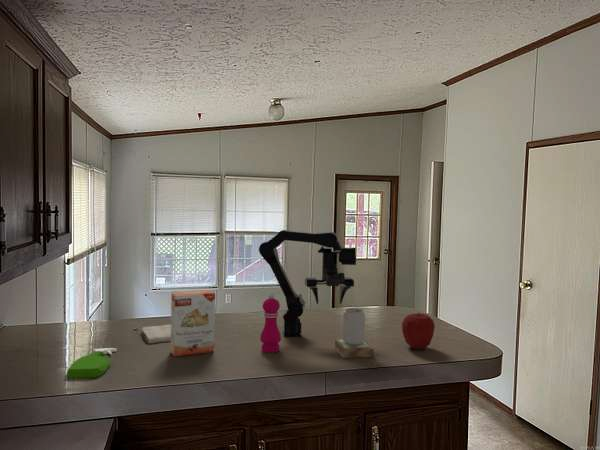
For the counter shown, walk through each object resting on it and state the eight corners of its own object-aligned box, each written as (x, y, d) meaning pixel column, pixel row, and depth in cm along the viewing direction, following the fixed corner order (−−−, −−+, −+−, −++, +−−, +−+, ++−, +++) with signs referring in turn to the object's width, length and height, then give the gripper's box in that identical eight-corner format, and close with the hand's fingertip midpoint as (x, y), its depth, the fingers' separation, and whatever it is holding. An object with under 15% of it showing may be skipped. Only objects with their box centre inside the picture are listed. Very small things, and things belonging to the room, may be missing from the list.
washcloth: (170, 329, 191) (170, 322, 191) (181, 341, 176) (181, 333, 175) (139, 333, 186) (140, 325, 186) (148, 345, 170) (148, 337, 170)
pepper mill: (283, 348, 168) (284, 293, 167) (276, 354, 161) (277, 296, 160) (265, 346, 170) (266, 291, 170) (256, 351, 164) (257, 295, 163)
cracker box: (174, 357, 156) (174, 295, 155) (170, 352, 161) (170, 292, 160) (214, 352, 162) (215, 292, 162) (209, 347, 168) (210, 289, 167)
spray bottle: (63, 380, 136) (87, 354, 160) (103, 378, 137) (121, 353, 162) (63, 370, 136) (87, 345, 160) (103, 368, 137) (121, 344, 162)
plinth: (342, 357, 159) (342, 348, 159) (334, 347, 170) (335, 338, 170) (373, 357, 161) (373, 347, 160) (364, 347, 171) (364, 338, 171)
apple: (412, 341, 180) (413, 307, 180) (440, 348, 172) (441, 312, 171) (394, 347, 172) (395, 311, 171) (423, 355, 164) (424, 317, 163)
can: (363, 347, 161) (364, 312, 160) (341, 345, 162) (342, 311, 162) (365, 340, 168) (365, 307, 167) (344, 339, 170) (345, 306, 169)
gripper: (309, 267, 174) (308, 308, 174) (358, 267, 176) (357, 308, 177) (304, 263, 185) (304, 302, 185) (350, 263, 187) (349, 301, 188)
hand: (328, 303), depth 184 cm, fingers open, 9 cm apart
